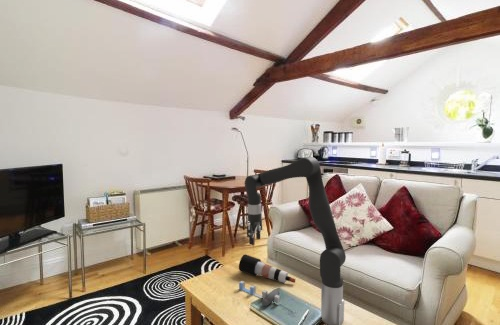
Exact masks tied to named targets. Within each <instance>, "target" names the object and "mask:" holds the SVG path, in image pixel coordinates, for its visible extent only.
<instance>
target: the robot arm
mask: <svg viewBox="0 0 500 325" xmlns="http://www.w3.org/2000/svg"><path fill="white" fill-rule="evenodd" d="M294 178H295V179H297V178H305V179H306V182H307V186H308V208H309V212H310V215H311V219H312V221H313V224H314V225H315V227H316V228H317V229H318V230H319V232H320V234H321V236H322V238H323V241H324V247H325V249H324V250H323V251H322V252H321V253H320V257H319V276H320V278H321V288H320V289H321V290H320V292H321V294H320V295H321V298H320V300H321V301H320V302H321V304H320V309H321V310H320V318H321V317H322V319H321V321H322V322H323V323H324V324H326V325H342V323H343V321H344V320H345V299H344V298H343V297H344V295H343V294H344V278H343V276H342V275H341V267H342V266H343V265H344V264H345V262H346V259H347V258H346V257H347V256H346V253H345V252H346V251H345V249H344V246H343V244H342V242H341V239H340V236H339V233H338V230H337V227H336V223H335V219H334V216H333V212H332V209H331V205H330V202H329V199H328V195H327V191H326V189H325V185H324V183H323V182H324V181H323V176H322V170H321V165H320V162H319V161H318V159H316V158H315V157H313V156H304V157H301V158H299V159H297V160H295V161H293V162H292V163H290V164H287V165H285V166H281V167H276V168H273V169H269V170H266V171H263V172H261V173H256V174H251V175H247V176H246V177H245V180H244V187H245V191H246V195H247V207H246V208H247V222H249V225H246V238H249V240H248V241H249V245H254V243H255V241H254V238H256V240H261V232H262V231H263V220H262V219H263V218H262V217H263V216H262V213H263V212H262V196H261V193H260V192H259V191H258V190H257V188H260V187H263V186H269V185H271V184H272V185H273V184H277V183H279V182H283V181H285V180H288V179H294ZM255 236H256V237H255Z"/></svg>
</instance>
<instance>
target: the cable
mask: <svg viewBox="0 0 500 325" xmlns="http://www.w3.org/2000/svg"><path fill="white" fill-rule="evenodd" d="M238 269H239V270H238V271H240V272H242V273H245V274H247V275H250V276H252V277H256V276H261V277H263V278H267V279H270V280H272V281H277V282H281V283H283V284H286V282H291V283H294V284H295V283H296V278H293V277H291V276H289V272H287V271H284V270H281V269H279V268H278V267H274V266H272V265H269V264H266V263H264V262H262V261H261V259H260V258H258V257H254V256H251V255H248V254H246V253H245V254H243V255H242V256H241V257H240V260H239V262H238Z"/></svg>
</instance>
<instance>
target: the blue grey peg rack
mask: <svg viewBox="0 0 500 325" xmlns="http://www.w3.org/2000/svg"><path fill="white" fill-rule="evenodd" d="M245 285H246V282H245V281H244V280H241V281H239V282H238V288H239V289H238V290H239V291H243V292H244V293H247V294H249V295H251V296H255V297H257V298H259V299H261V298H265V297H266V296H267V295H268V290H266V289H263V290H262V291H261V294H260V293H256V292H257V290H256V289H257V288H256V285H253V284H252V285H251V286H249V289H247V287H246V286H245ZM273 301H274V302H276V303H279V302H280V303H281V296H280V294H279V295H276V296H274V300H273Z"/></svg>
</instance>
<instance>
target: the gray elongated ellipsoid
mask: <svg viewBox="0 0 500 325" xmlns="http://www.w3.org/2000/svg"><path fill="white" fill-rule="evenodd" d="M276 295H279V296H280V295H281V294H280V290H278V289H277V288H276V289H274V290H272V291H271V292H270V293H269V294H267V296H266V297H265V298H264V299H261V304H262V306H263V307H268V306H269V305H270V304H272V303H271V302H272V301H274V296H276ZM267 305H268V306H267Z"/></svg>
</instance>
